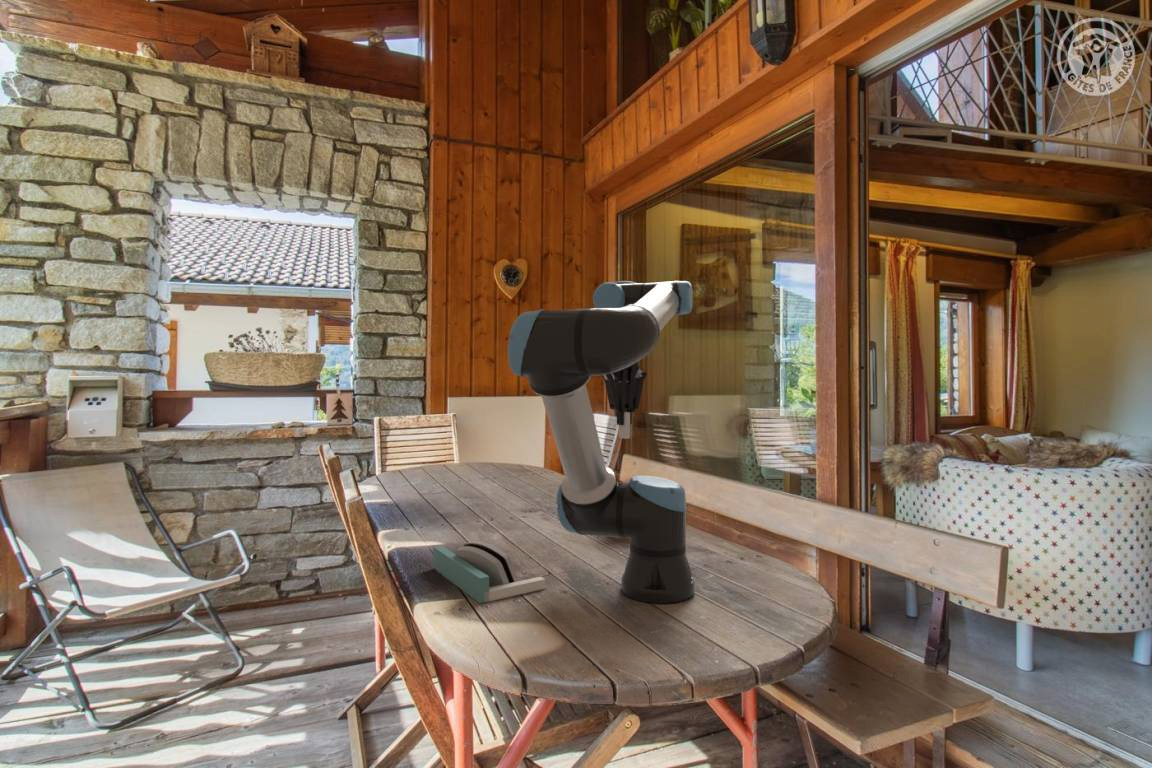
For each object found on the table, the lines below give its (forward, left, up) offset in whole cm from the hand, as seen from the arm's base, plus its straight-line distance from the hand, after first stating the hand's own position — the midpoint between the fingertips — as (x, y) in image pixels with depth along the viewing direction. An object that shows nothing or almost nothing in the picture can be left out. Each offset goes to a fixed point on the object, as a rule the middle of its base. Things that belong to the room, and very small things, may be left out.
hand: (624, 437), depth 150 cm
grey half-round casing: (0, +38, -30) cm, 48 cm away
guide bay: (+3, +36, -29) cm, 47 cm away
